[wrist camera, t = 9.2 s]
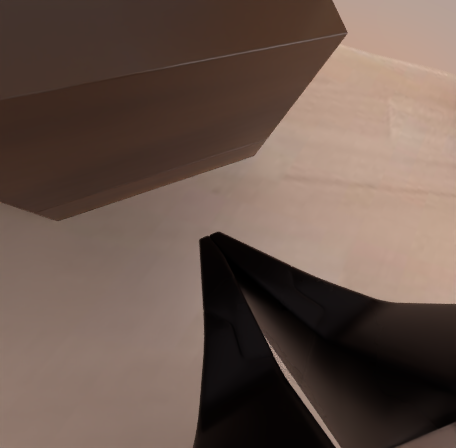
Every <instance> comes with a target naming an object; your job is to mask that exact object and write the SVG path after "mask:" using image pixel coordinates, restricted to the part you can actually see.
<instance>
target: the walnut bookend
mask: <svg viewBox="0 0 456 448" xmlns="http://www.w3.org/2000/svg"><path fill="white" fill-rule="evenodd" d="M346 35H347V30H346V28H345V26H344V24H343V22H342V20H341V18H340V16H339V13H338V11H337V9H336V7H335V5H334V3H333V1H332V0H0V202H2V203H5V204H8V205H11V206H14V207H17V208H20V209H23V210H26V211H29V212H32V213H35V214H38V215H41V216H44V217H47V218H50V219H53V220H56V221H59V220H62V219H65V218H68V217H72V216H75V215H78V214H81V213H84V212H87V211H90V210H93V209H96V208H99V207H102V206H105V205H108V204H111V203H114V202H117V201H120V200H123V199H126V198H129V197H132V196H135V195H138V194H141V193H144V192H147V191H150V190H153V189H156V188H159V187H162V186H165V185H168V184H171V183H174V182H177V181H180V180H183V179H186V178H189V177H192V176H195V175H198V174H201V173H204V172H207V171H210V170H213V169H216V168H219V167H222V166H225V165H228V164H231V163H234V162H237V161H240V160H243V159H246V158H249V157H252V156H254V155H255V154H256V153H257V151H258V150H259V149H260V147H261V146H262V145H263V143H264V142H265V141H266V139H267V138H268V137H269V136H270V134H271V133H272V132H273V130H274V129H275V128H276V126H277V125H278V124H279V123H280V121H281V120H282V119H283V117H284V116H285V115H286V113H287V112H288V111H289V109H290V108H291V107H292V106H293V104H294V103H295V102H296V100H297V99H298V98H299V96H300V95H301V94H302V92H303V91H304V90H305V89H306V87H307V86H308V85H309V83H310V82H311V81H312V79H313V78H314V77H315V75H316V74H317V73H318V72H319V70H320V69H321V68H322V66H323V65H324V64H325V62H326V61H327V60H328V58H329V57H330V56H331V55H332V53H333V52H334V51H335V49H336V48H337V47H338V45H339V44H340V43H341V41H342V40H343V39H344V37H345V36H346Z"/></svg>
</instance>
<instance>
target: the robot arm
mask: <svg viewBox="0 0 456 448" xmlns="http://www.w3.org/2000/svg"><path fill="white" fill-rule="evenodd" d="M199 245H200V262H201V279H202V296H203V310H204V312H203V315H204V355H203V369H202V381H201V394H200V406H199V415H198V423H197V430H196V436H195V440H194V445H193V448H336V447H335V446H334V445H333V443H332V442H331V440H330V439H329V438H328V436H327V435H326V433H325V432H324V431H323V429H322V428H321V427H320V425H319V424H318V422H317V421H316V420H315V418H314V417H313V415H312V414H311V413H310V411H309V410H308V408H307V407H306V406H305V404H304V403H303V401H302V400H301V399H300V397H299V396H298V394H297V393H296V392H295V390H294V389H293V387H292V386H291V385H290V383H289V382H288V380H287V379H286V378H285V376H284V374H283V373H282V371H281V369H280V367H279V365H278V363H277V362H276V360H275V358H274V357H273V353H272V351H271V349H270V347H269V345H268V343H267V341H266V339H267V340H268V341H269V343H270V344H271V346H272V347H273V349H274V350H275V352H276V353H277V355H278V356H279V357H280V359H281V360H282V362H283V363H284V365H285V366H286V368H287V369H288V371H289V372H290V373H291V375H292V376H293V378H294V379H295V381H296V382H297V384H298V385H299V386H300V387H301V390H302V391H303V393H304V394H305V395H306V397H307V398H308V400H309V401H310V403H311V404H312V406H313V407H314V409H315V410H316V411H317V413H318V414H319V416H320V417H321V419H322V420H323V422H324V423H325V425H326V426H327V427H328V429H329V430H330V432H331V433H332V435H333V436H334V438H335V439H336V441H337V442H338V443H339V445H340V446H341V448H456V304H426V303H394V302H387V301H382V300H378V299H375V298H372V297H369V296H366V295H363V294H360V293H358V292H355V291H352V290H349V289H347V288H344V287H341V286H338V285H336V284H333V283H330V282H328V281H325V280H323V279H320V278H317V277H315V276H313V275H310V274H308V273H306V272H304V271H301V270H299V269H297V268H295V267H293V266H292V267H291V265H289V264H287V263H284V262H282V261H280V260H278V259H276V258H274V257H272V256H270V255H268V254H266V253H263V252H261V251H259V250H257V249H255V248H253V247H251V246H249V245H247V244H244V243H242V242H240V241H238V240H236V239H234V238H232V237H230V236H228V235H226V234H223V233H221V232H215V233H213V234H211V235H210V236H206V237H203V238H201V239H200V240H199ZM263 334H264V335H263ZM264 336H265V337H266V339H265V337H264Z"/></svg>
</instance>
